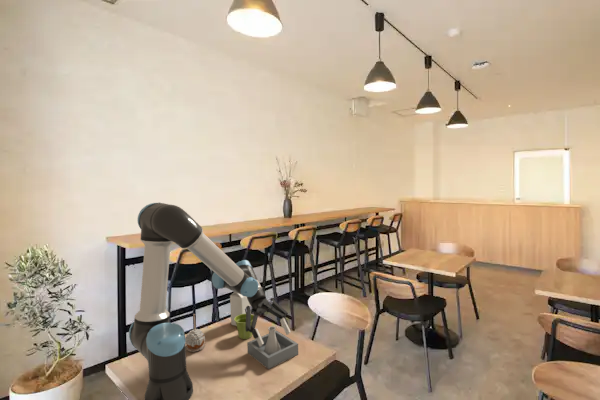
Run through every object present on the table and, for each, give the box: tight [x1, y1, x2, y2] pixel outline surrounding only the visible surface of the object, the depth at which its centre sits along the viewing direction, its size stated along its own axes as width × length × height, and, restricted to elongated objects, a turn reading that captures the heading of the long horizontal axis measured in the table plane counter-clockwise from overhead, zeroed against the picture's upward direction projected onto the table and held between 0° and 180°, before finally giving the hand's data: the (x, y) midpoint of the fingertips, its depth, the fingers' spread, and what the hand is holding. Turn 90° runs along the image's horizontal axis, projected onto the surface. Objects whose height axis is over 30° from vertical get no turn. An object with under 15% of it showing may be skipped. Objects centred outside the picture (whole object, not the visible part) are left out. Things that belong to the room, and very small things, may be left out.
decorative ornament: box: [185, 313, 206, 352], centre depth 138 cm, size 8×8×15 cm
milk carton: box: [229, 291, 251, 327], centre depth 159 cm, size 7×7×19 cm
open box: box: [246, 330, 299, 370], centre depth 133 cm, size 15×15×4 cm
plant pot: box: [234, 313, 254, 340], centre depth 148 cm, size 9×9×9 cm
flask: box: [264, 325, 281, 355], centre depth 133 cm, size 7×7×10 cm
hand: (275, 339), depth 131 cm, fingers open, 13 cm apart
